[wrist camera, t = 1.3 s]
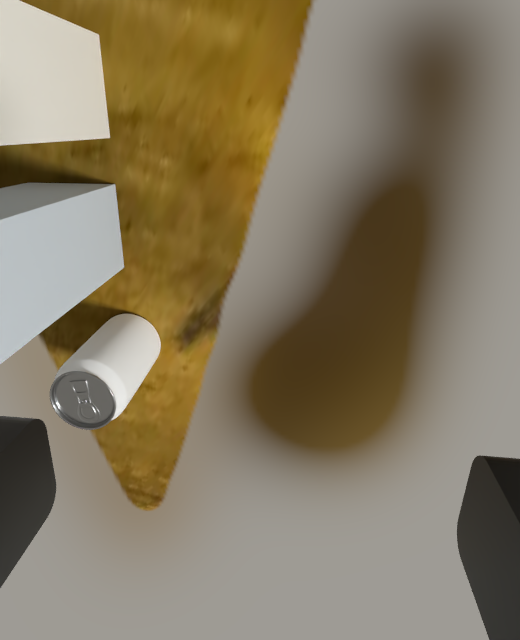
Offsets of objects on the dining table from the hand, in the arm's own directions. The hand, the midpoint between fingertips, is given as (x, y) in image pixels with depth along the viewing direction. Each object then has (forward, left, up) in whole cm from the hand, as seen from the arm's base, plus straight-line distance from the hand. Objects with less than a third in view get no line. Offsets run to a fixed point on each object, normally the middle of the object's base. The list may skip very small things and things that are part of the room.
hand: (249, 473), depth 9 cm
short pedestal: (+3, -21, -37) cm, 42 cm away
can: (+15, -17, -37) cm, 43 cm away
